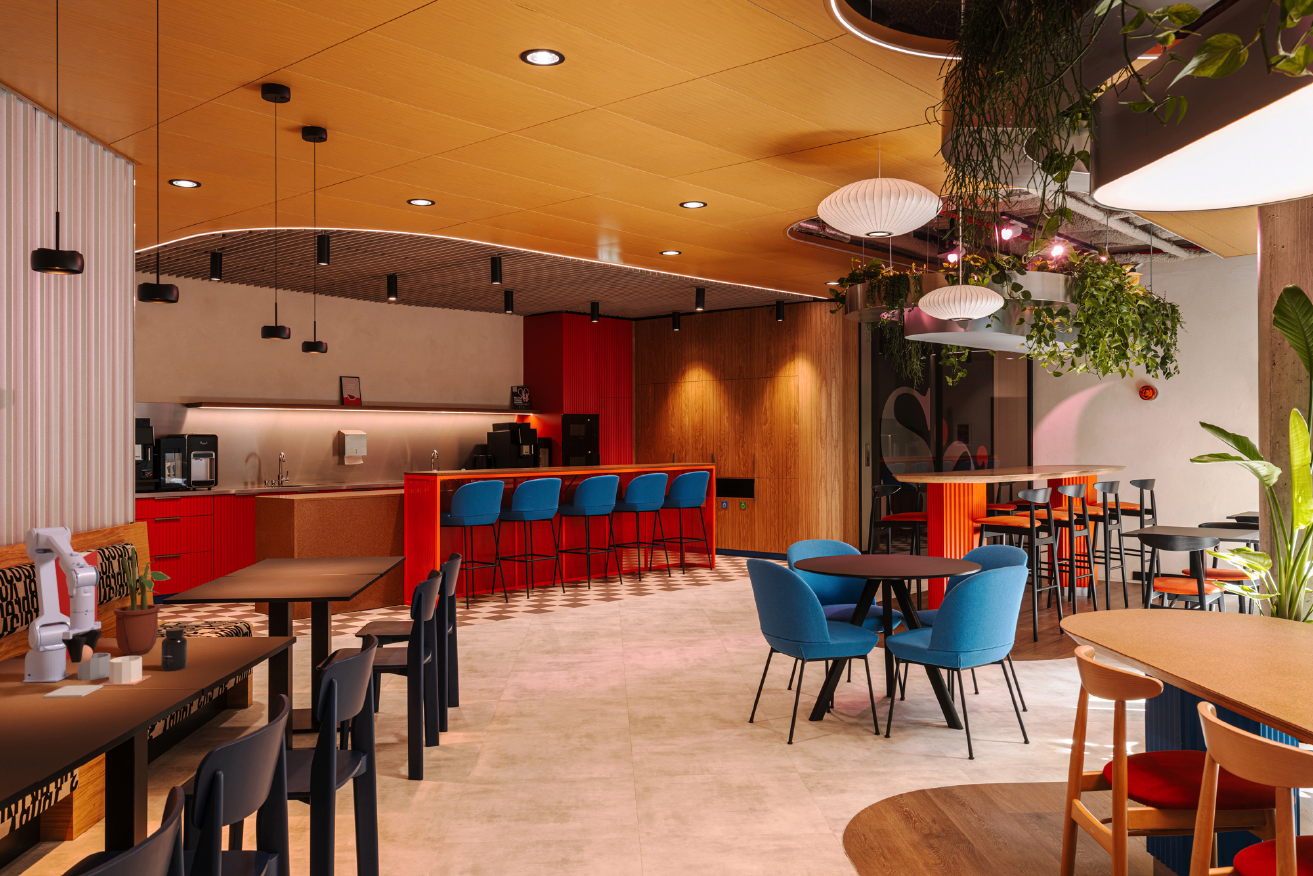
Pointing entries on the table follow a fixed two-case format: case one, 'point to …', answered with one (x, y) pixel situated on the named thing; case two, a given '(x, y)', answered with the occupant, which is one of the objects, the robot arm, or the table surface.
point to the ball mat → (73, 691)
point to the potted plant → (137, 613)
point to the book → (63, 588)
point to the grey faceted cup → (94, 667)
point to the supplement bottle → (174, 650)
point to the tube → (125, 671)
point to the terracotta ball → (86, 654)
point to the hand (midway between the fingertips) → (82, 660)
